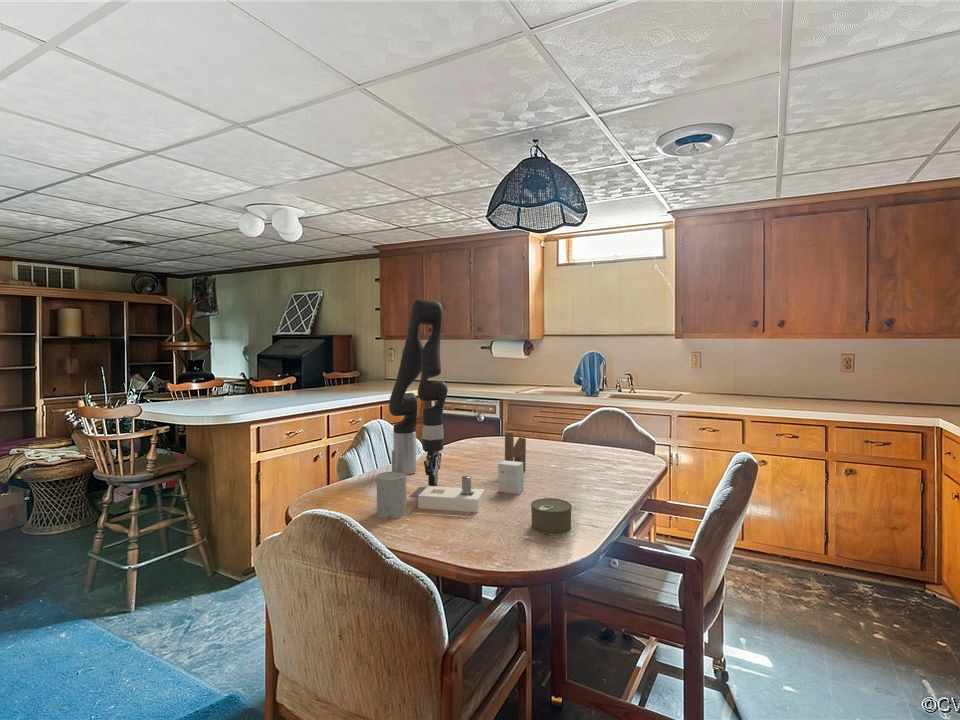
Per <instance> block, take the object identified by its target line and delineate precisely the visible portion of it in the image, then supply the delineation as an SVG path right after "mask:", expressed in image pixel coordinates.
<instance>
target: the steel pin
mask: <svg viewBox="0 0 960 720" xmlns="http://www.w3.org/2000/svg"><path fill="white" fill-rule="evenodd" d="M432 467H434V466H432ZM430 472H431V471H430ZM434 486H438V482H437V468H436V469H435V485H434Z"/></svg>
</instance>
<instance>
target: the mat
mask: <svg viewBox="0 0 960 720" xmlns="http://www.w3.org/2000/svg"><path fill="white" fill-rule="evenodd" d="M427 487H428V486H419V487H418V488H416V490H415V491H413V492H412V493H411V495H409V496H408V497H409V498H418V495H419V494H420V493H421V492H422V491H424V490H425V489H426V488H427Z"/></svg>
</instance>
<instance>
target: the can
mask: <svg viewBox="0 0 960 720" xmlns="http://www.w3.org/2000/svg"><path fill="white" fill-rule="evenodd" d="M530 508H531V509H530V511H531V529H532V528H533V529H534V530H533V529H532V530H533V531H534V532H536V531H537V533H539V532H540V534H542V533H544V534H543V535H548V534H553V535H552V536H555V535H554V534H560V535H564V534H563V533H565V534H567V532H568V531H569V532H570V531H571V530H572V509H573V505H572V503H570V502H568V501H567V500H564V499H560V498H553V497H552V498H551V497H550V498H549V497H548V498H547V497H546V498H539V499H536V500H533V501H531V503H530ZM569 532H568V533H569Z"/></svg>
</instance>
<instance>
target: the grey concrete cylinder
mask: <svg viewBox="0 0 960 720" xmlns="http://www.w3.org/2000/svg"><path fill="white" fill-rule="evenodd" d="M375 476H376V477H375V478H376V517H377V518H380V519H385V520H393V519H398V518H403V517H405V516H406V515H407V513H408V510H407V506H408V503H407V476H408V475H406V473H403V472H396V471H393V472H392V471H385V472H384V471H383V472H380V473H377V474H376V475H375ZM404 515H405V516H404Z"/></svg>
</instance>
